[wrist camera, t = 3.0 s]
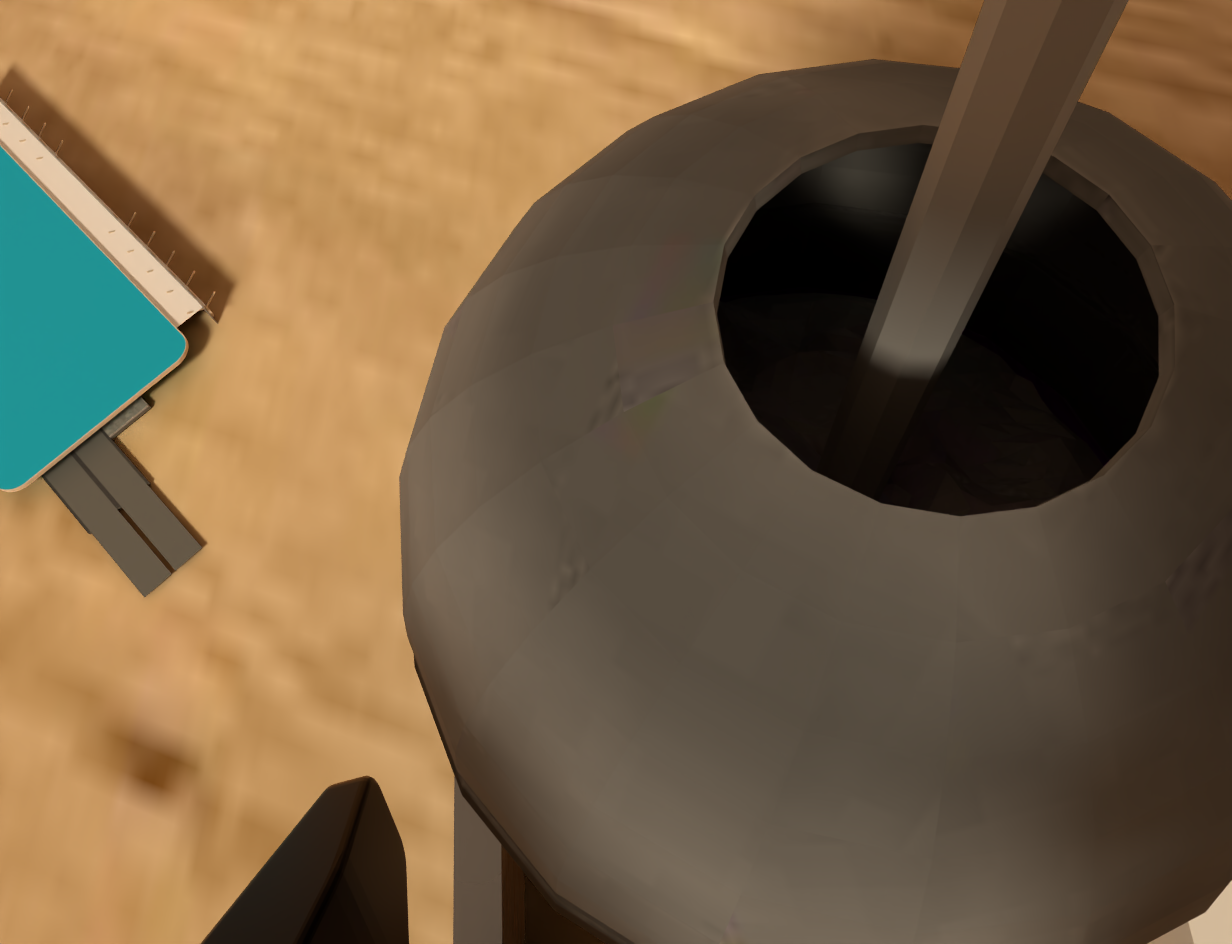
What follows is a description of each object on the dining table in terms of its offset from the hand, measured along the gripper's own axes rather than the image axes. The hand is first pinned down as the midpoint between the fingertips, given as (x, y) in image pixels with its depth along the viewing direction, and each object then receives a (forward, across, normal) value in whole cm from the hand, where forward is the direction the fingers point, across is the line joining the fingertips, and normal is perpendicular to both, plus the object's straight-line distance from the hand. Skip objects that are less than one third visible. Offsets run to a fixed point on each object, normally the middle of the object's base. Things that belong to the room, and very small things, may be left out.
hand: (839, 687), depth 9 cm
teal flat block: (+19, +17, -3) cm, 25 cm away
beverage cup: (+8, 0, +7) cm, 10 cm away
